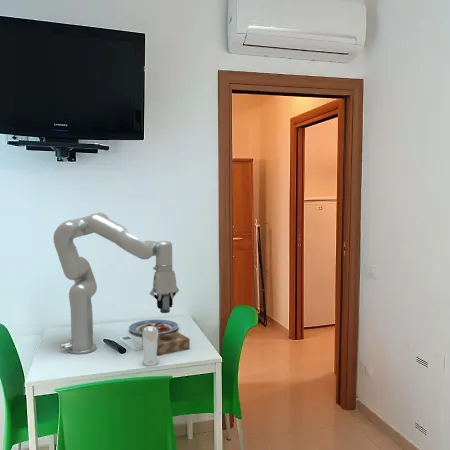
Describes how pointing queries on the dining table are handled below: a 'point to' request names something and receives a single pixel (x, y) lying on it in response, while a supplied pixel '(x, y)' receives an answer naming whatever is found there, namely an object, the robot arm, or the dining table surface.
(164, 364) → the dining table surface
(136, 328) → the ceramic plate
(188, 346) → the block
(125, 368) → the dining table surface
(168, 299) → the grey cylinder
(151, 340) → the beer glass
